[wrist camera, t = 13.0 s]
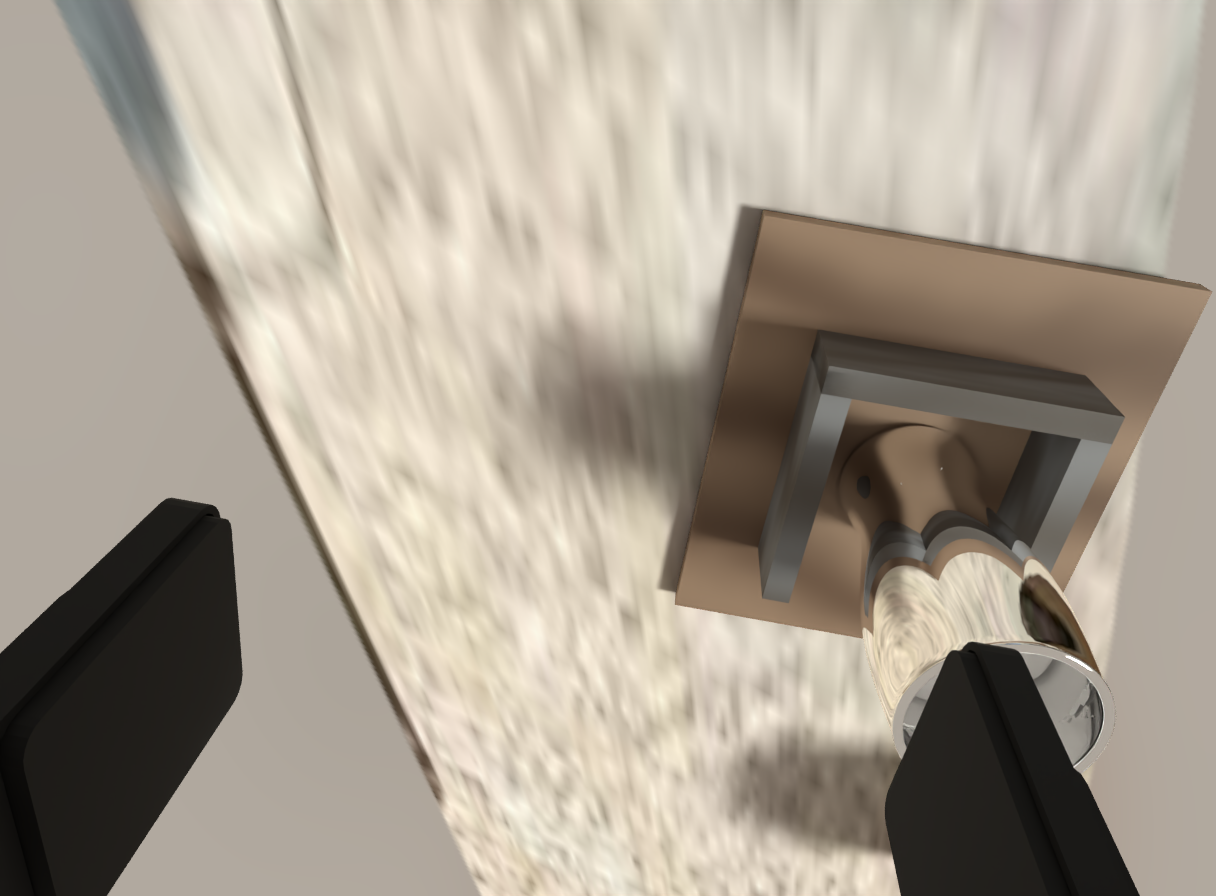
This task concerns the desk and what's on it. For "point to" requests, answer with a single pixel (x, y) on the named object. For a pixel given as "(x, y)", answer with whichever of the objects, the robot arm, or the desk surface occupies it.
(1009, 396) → the u rest
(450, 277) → the desk surface
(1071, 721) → the beer glass
